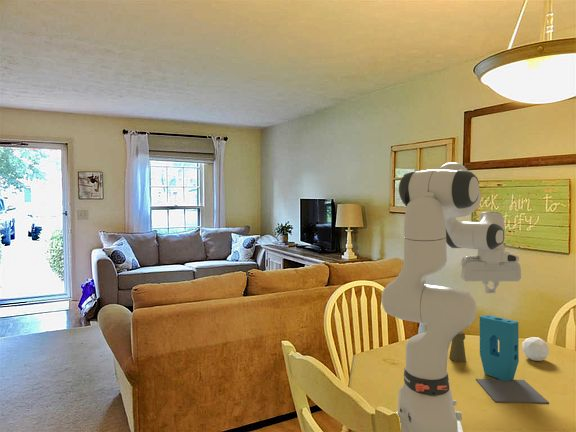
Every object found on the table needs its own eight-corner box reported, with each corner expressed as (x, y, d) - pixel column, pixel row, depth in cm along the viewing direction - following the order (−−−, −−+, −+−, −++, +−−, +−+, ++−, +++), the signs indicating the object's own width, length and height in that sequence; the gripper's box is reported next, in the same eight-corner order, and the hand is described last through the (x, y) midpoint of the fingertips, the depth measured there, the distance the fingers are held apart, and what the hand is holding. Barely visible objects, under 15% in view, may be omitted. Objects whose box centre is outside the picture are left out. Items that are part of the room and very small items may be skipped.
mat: (549, 403, 123) (549, 402, 123) (495, 402, 124) (495, 400, 124) (523, 380, 138) (523, 379, 138) (475, 379, 139) (475, 378, 139)
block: (478, 371, 145) (478, 316, 145) (486, 369, 148) (486, 314, 148) (511, 383, 135) (511, 323, 135) (520, 380, 138) (519, 321, 138)
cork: (468, 362, 154) (469, 333, 153) (452, 362, 154) (453, 333, 154) (462, 355, 160) (462, 328, 160) (446, 355, 160) (447, 328, 160)
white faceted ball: (558, 360, 150) (539, 351, 162) (549, 336, 151) (531, 329, 163) (535, 367, 151) (518, 358, 163) (526, 343, 151) (510, 336, 163)
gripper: (464, 257, 145) (464, 295, 146) (523, 257, 143) (523, 295, 144) (458, 254, 151) (458, 290, 152) (515, 254, 150) (514, 291, 151)
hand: (490, 293), depth 148 cm, fingers closed
